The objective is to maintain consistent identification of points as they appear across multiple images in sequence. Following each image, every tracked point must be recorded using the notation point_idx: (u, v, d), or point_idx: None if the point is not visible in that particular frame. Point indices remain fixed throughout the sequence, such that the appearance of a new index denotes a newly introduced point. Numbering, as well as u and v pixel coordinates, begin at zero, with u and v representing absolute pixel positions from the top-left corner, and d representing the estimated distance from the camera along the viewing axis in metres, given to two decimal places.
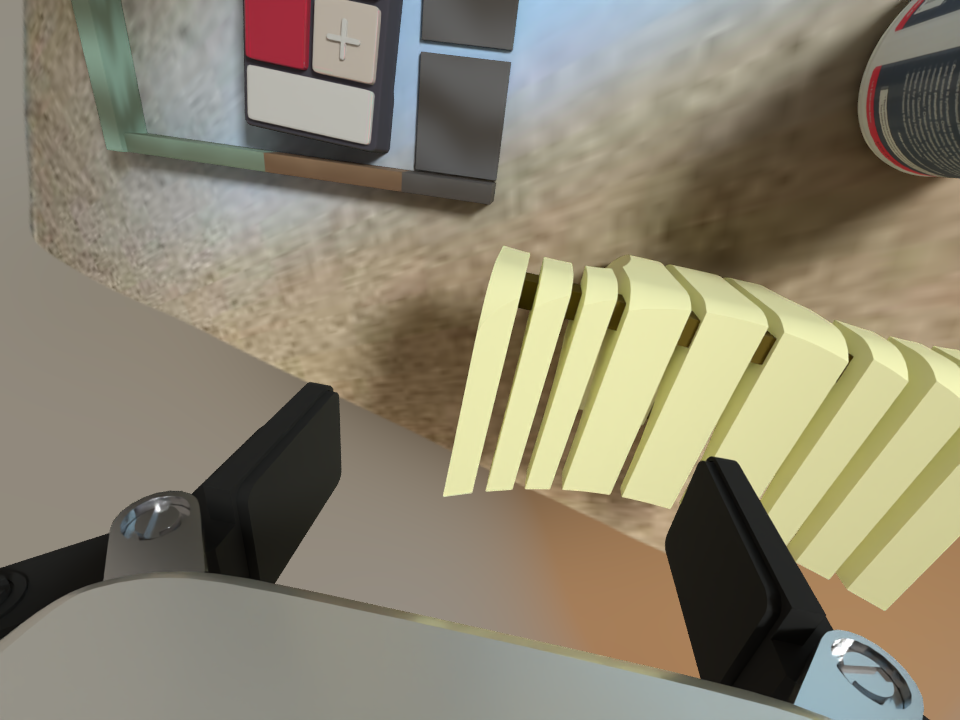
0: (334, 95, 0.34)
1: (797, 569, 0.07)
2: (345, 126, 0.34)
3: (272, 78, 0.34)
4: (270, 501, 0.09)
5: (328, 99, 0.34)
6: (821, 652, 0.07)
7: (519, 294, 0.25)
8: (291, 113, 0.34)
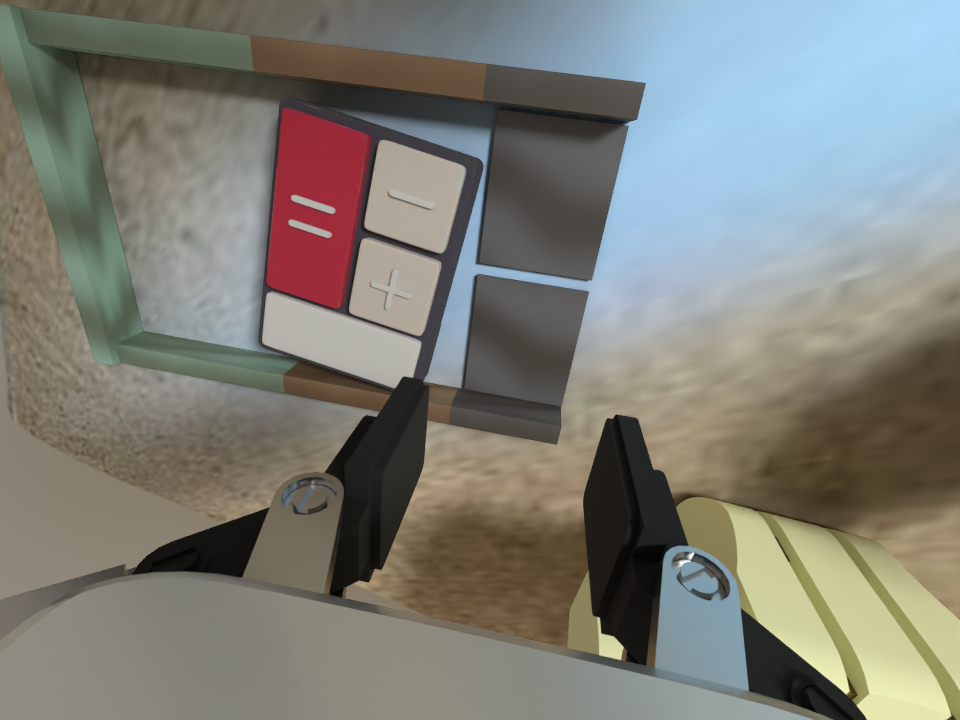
0: (372, 338, 0.28)
1: (660, 499, 0.09)
2: (382, 370, 0.28)
3: (296, 310, 0.27)
4: (391, 483, 0.09)
5: (364, 342, 0.28)
6: (666, 574, 0.07)
7: None
8: (316, 348, 0.28)
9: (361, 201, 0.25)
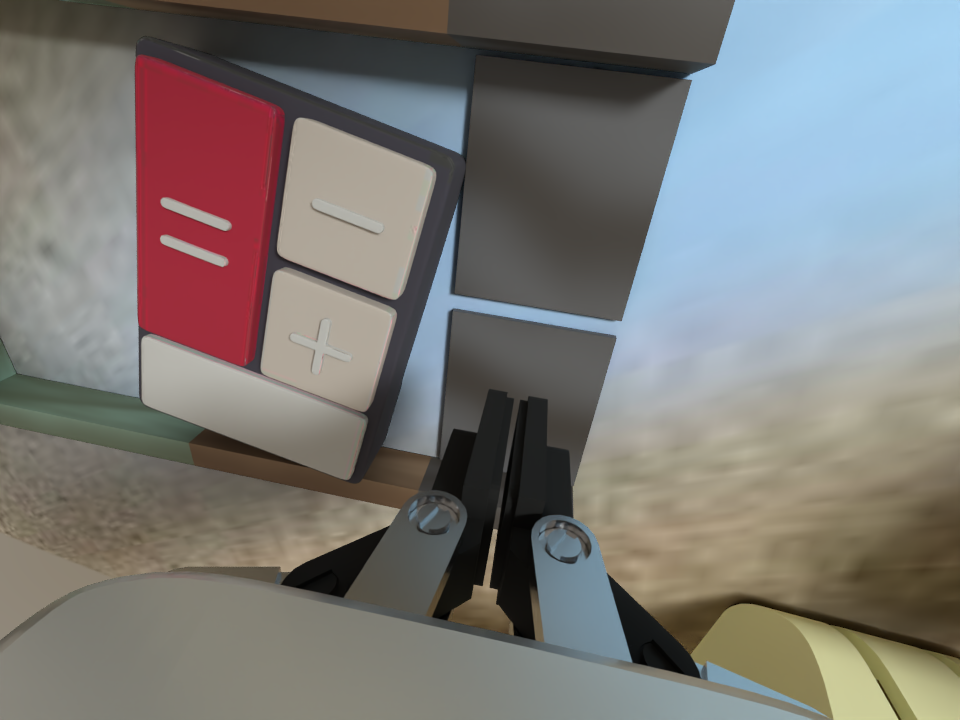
0: (296, 409, 0.19)
1: (543, 472, 0.09)
2: (312, 451, 0.20)
3: (186, 363, 0.19)
4: None
5: (285, 413, 0.19)
6: (536, 551, 0.07)
7: None
8: (218, 416, 0.20)
9: (273, 212, 0.16)
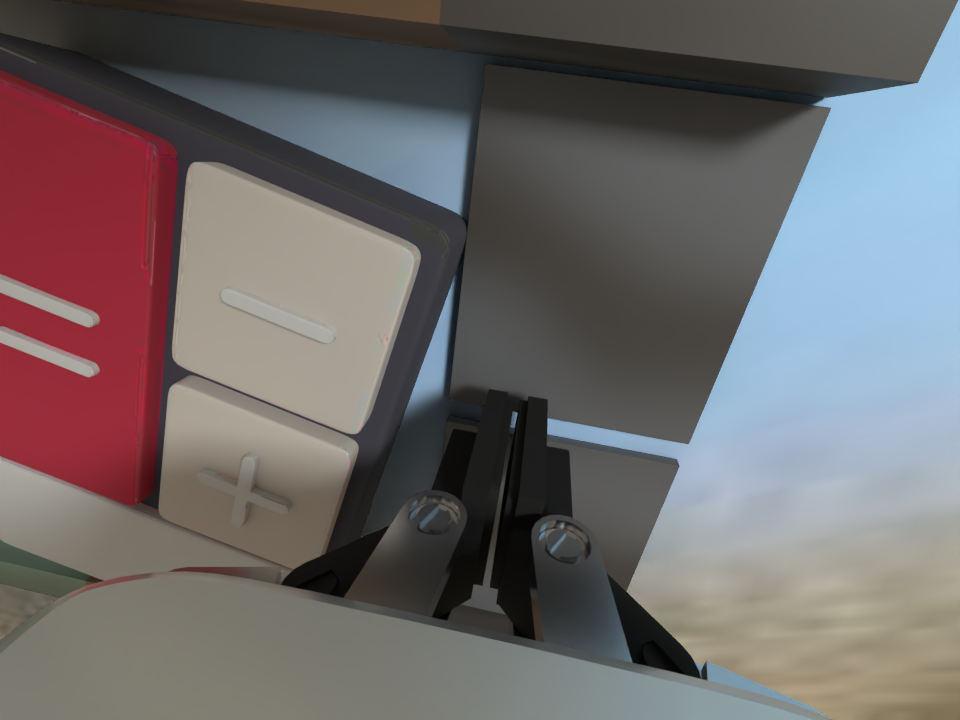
0: (215, 561, 0.13)
1: (543, 472, 0.09)
2: None
3: (55, 494, 0.13)
4: None
5: (199, 565, 0.13)
6: (536, 551, 0.07)
7: None
8: (106, 562, 0.14)
9: (168, 298, 0.10)
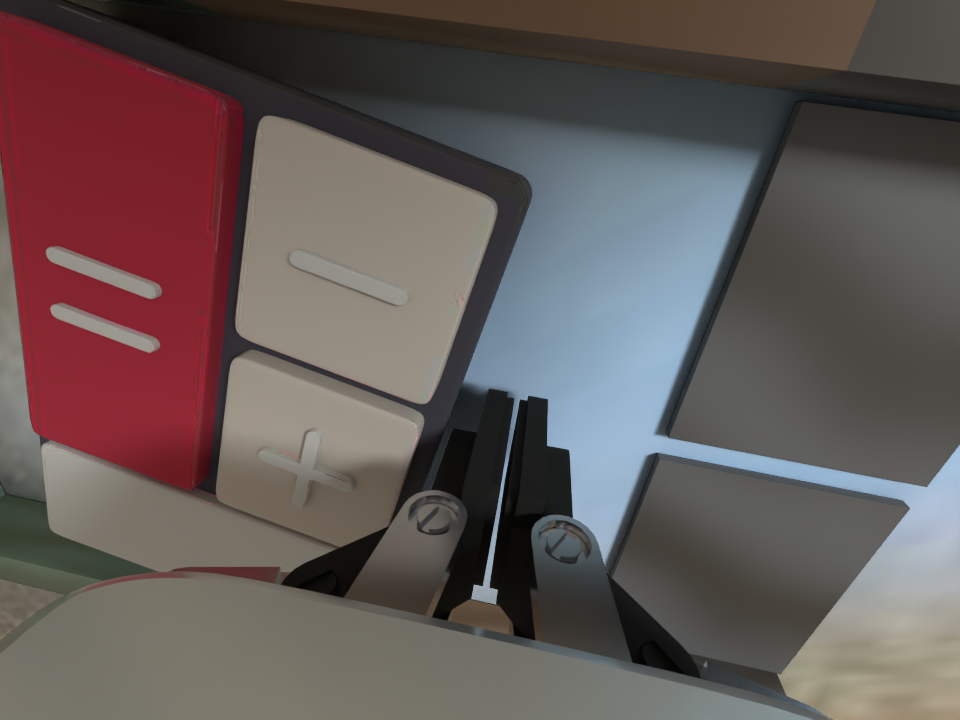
0: (271, 546, 0.13)
1: (543, 472, 0.09)
2: None
3: (109, 481, 0.13)
4: None
5: (255, 552, 0.13)
6: (536, 551, 0.07)
7: None
8: (159, 551, 0.14)
9: (230, 268, 0.10)
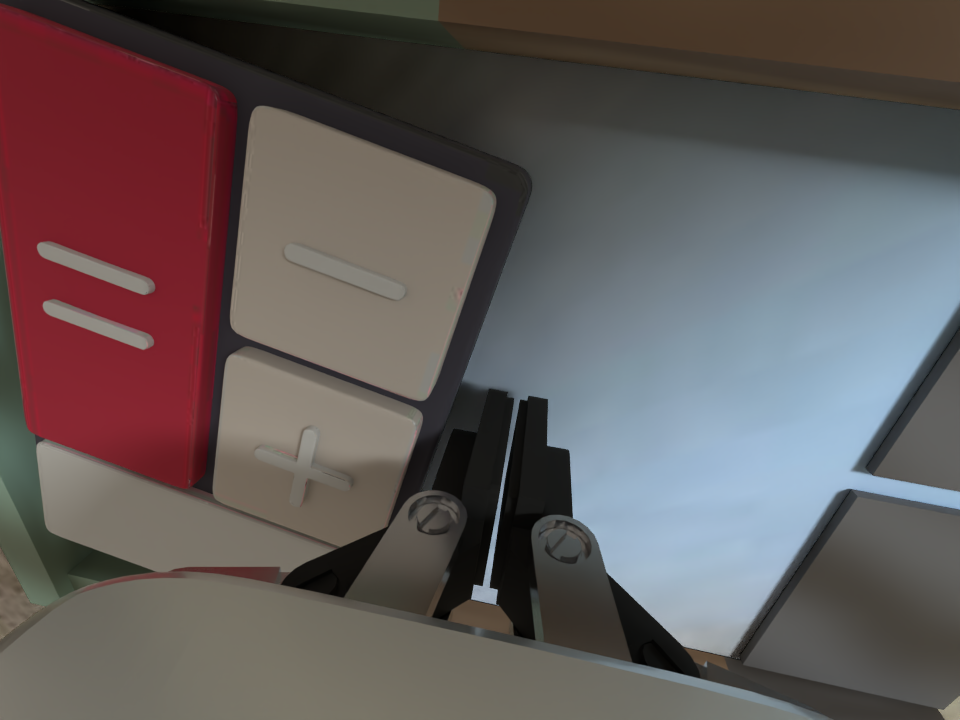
0: (269, 546, 0.13)
1: (543, 472, 0.09)
2: None
3: (105, 480, 0.13)
4: None
5: (253, 551, 0.13)
6: (536, 551, 0.07)
7: None
8: (156, 551, 0.13)
9: (224, 263, 0.10)
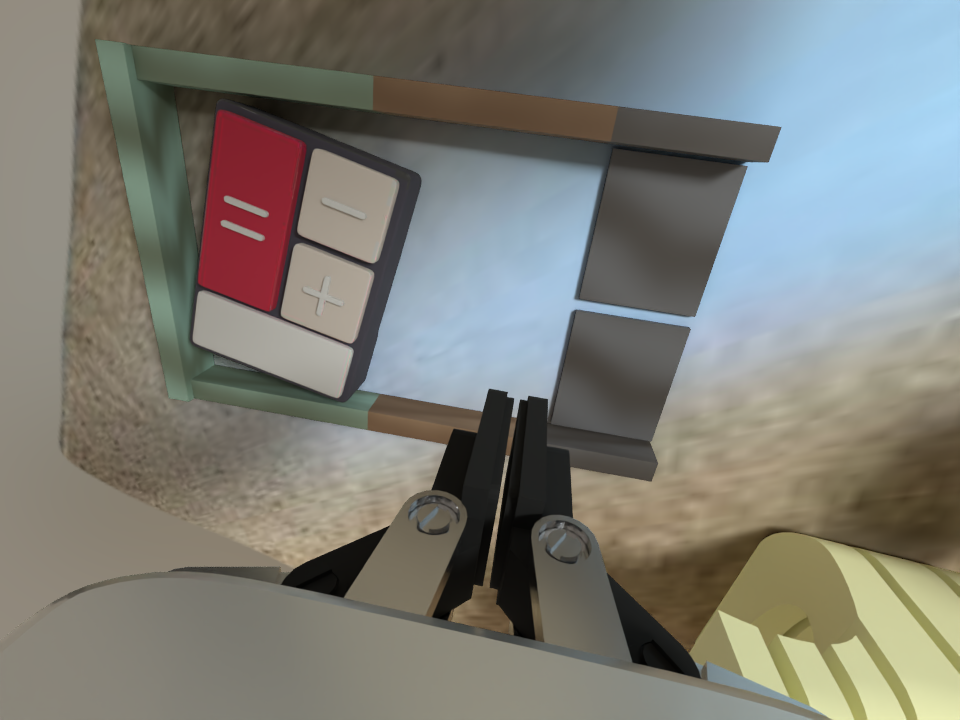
0: (304, 343, 0.27)
1: (543, 472, 0.09)
2: (313, 376, 0.28)
3: (228, 310, 0.27)
4: None
5: (296, 346, 0.28)
6: (536, 551, 0.07)
7: None
8: (248, 350, 0.28)
9: (295, 207, 0.25)
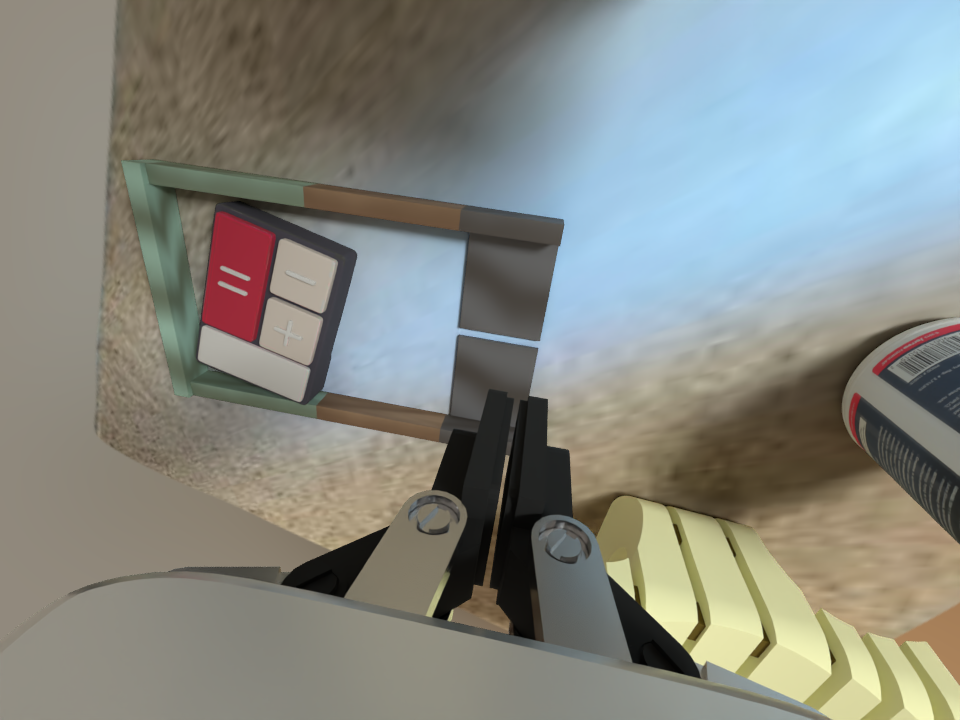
0: (275, 364, 0.39)
1: (543, 472, 0.09)
2: (282, 386, 0.40)
3: (223, 339, 0.39)
4: None
5: (270, 365, 0.39)
6: (536, 551, 0.07)
7: None
8: (236, 367, 0.40)
9: (269, 273, 0.36)
